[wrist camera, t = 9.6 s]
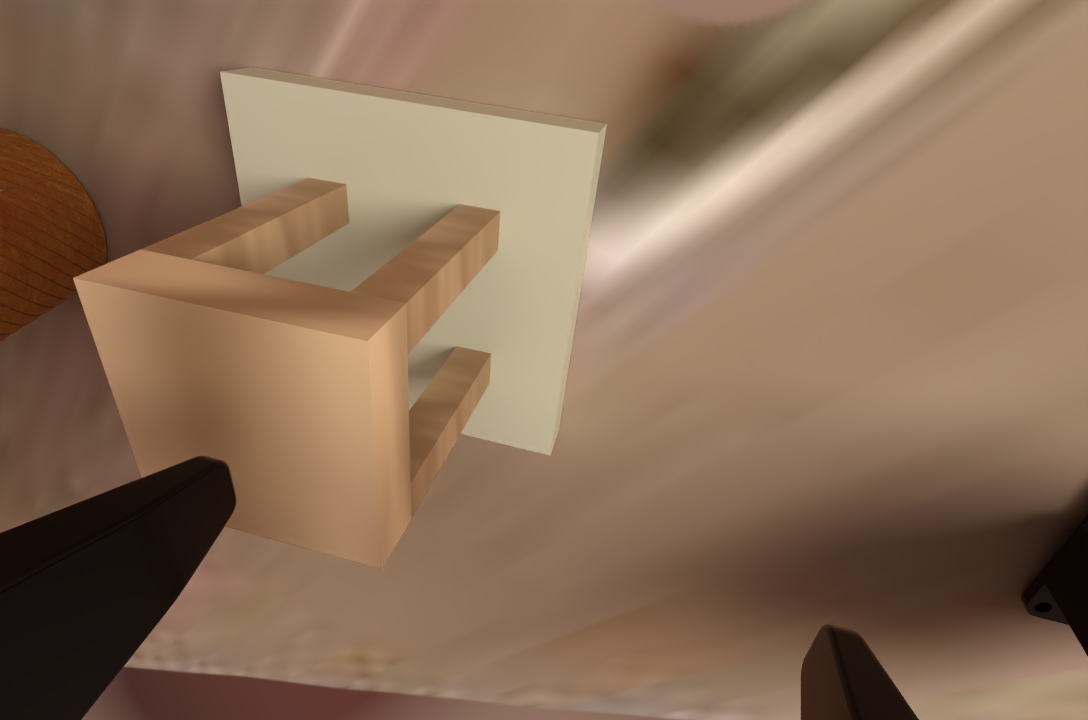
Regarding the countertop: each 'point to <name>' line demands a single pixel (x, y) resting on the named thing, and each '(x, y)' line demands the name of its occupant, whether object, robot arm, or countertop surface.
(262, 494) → the maple stool
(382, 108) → the sage board
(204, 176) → the countertop surface
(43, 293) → the disposable coffee cup
